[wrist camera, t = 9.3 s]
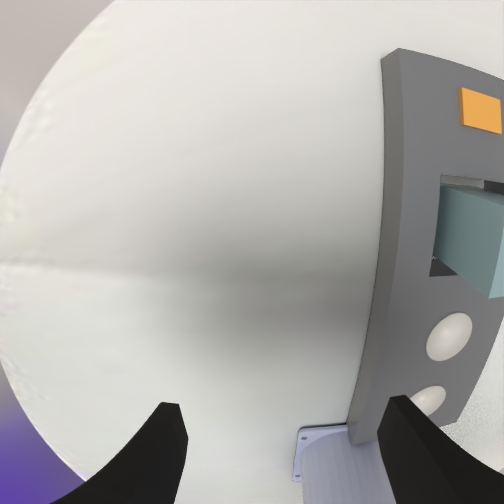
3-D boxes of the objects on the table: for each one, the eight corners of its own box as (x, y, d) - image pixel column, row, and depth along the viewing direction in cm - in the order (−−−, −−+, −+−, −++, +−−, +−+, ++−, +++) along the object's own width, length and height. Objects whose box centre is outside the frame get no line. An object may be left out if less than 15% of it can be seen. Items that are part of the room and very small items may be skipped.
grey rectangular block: (469, 247, 17) (540, 293, 10) (422, 247, 17) (492, 301, 10) (476, 187, 15) (557, 213, 8) (428, 182, 15) (510, 208, 9)
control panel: (445, 403, 21) (457, 424, 19) (346, 422, 22) (352, 448, 19) (505, 93, 13) (532, 90, 10) (380, 59, 13) (401, 45, 11)
